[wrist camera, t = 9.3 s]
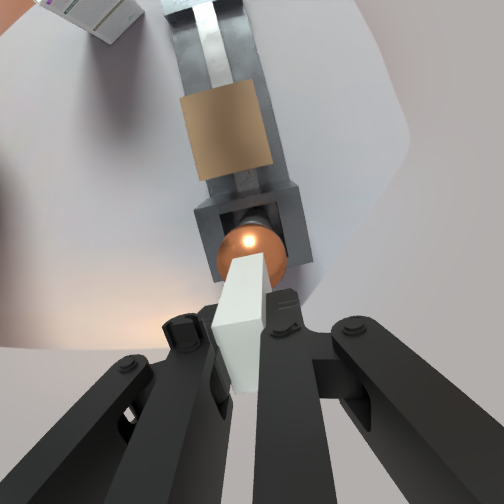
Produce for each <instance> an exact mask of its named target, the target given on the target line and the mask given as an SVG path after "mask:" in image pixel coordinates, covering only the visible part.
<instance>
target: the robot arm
mask: <svg viewBox="0 0 504 504" xmlns="http://www.w3.org/2000/svg"><path fill="white" fill-rule="evenodd" d="M162 329H163V331H164V334H165V336H166V339H167V341H168V344H169V346H170V348H171V350H170V352H169V354H168V356H167V358H166V360H164V361H160V362H157V363H154V364H149V362H148V360H147V358H146V357H145V356H144V355H139V354H138V355H129V356H125V357H123V358H122V359H120V360H119V361H118V362H116V363H115V364H114V365H113V366H111V367H110V368H109V370H108V371H107V372H106V373H105V374H104V375H103V376H102V377H101V378H100V379H99V380H98V381H97V382H96V383H95V384H94V385H93V386H92V387H91V388H90V389H89V390H88V391H87V392H86V393H85V394H84V395H83V396H82V397H81V398H80V399H79V400H78V401H77V402H76V403H75V404H74V405H73V406H72V407H71V408H70V409H69V410H68V412H67V413H65V415H64V416H63V417H62V418H61V419H60V420H59V421H58V422H57V423H56V424H55V425H54V426H53V427H52V428H51V429H50V430H49V431H48V432H47V433H46V434H45V435H44V436H43V437H42V439H40V441H39V442H38V443H37V444H36V445H35V446H34V447H33V448H32V449H31V450H30V451H29V452H28V453H27V454H26V455H25V456H24V457H23V458H22V460H21V461H20V462H19V463H18V464H17V465H16V466H15V467H14V468H13V469H12V470H11V471H10V472H9V473H8V474H7V476H6V477H5V478H4V479H3V480H2V481H1V482H0V504H221V497H222V488H223V481H224V473H225V465H226V457H227V449H228V442H229V434H230V426H231V418H232V410H233V401H232V398H231V396H230V393H229V391H230V384H231V385H232V388H233V391H234V393H235V394H243V393H249V392H257V391H258V402H257V403H258V404H257V426H256V445H255V466H254V485H253V502H252V504H337V498H336V492H335V486H334V479H333V473H332V468H331V461H330V455H329V449H328V443H327V437H326V432H325V426H324V421H323V415H322V410H321V404H320V399H319V398H327V399H339V401H340V404H341V405H342V407H343V408H344V410H345V411H346V413H347V414H348V416H349V417H350V419H351V420H352V422H353V423H354V424H355V426H356V427H357V429H358V430H359V432H360V433H361V435H362V436H363V438H364V439H365V440H366V442H367V443H368V445H369V446H370V448H371V449H372V451H373V452H374V454H375V455H376V456H377V458H378V459H379V461H380V462H381V464H382V465H383V466H384V468H385V469H386V471H387V472H388V474H389V475H390V477H391V478H392V479H393V481H394V482H395V484H396V485H397V487H398V488H399V489H400V491H401V492H402V494H403V495H404V497H405V498H406V499H407V501H408V502H409V504H504V427H503V426H502V425H501V424H500V423H499V422H497V421H496V420H495V419H494V418H493V417H492V416H490V415H489V414H488V413H487V412H486V411H485V410H483V409H482V408H481V407H480V406H479V405H478V404H476V403H475V402H474V401H473V400H471V399H470V398H469V397H468V396H467V395H466V394H465V393H463V392H462V391H461V390H460V389H459V388H457V387H456V386H455V385H454V384H453V383H451V382H450V381H449V380H448V379H447V378H445V377H444V376H443V375H442V374H441V373H439V372H438V371H437V370H436V369H434V368H433V367H432V366H431V365H429V364H428V363H427V362H426V361H425V360H423V359H422V358H421V357H420V356H419V355H417V354H416V353H415V352H414V351H413V350H411V349H410V348H409V347H408V346H406V345H405V344H404V343H402V342H401V341H400V340H399V339H398V338H397V337H395V336H394V335H393V334H392V333H390V332H389V331H388V330H387V329H385V328H384V327H383V326H382V325H380V324H379V323H378V322H376V321H375V320H373V319H372V318H370V317H365V316H351V317H348V318H344V319H342V320H340V321H338V322H337V323H336V324H335V325H334V326H333V327H332V329H331V333H318V332H313V331H311V330H309V329H307V328H306V327H305V325H304V322H303V317H302V313H301V308H300V303H299V299H298V294H297V292H296V291H294V290H293V289H291V288H290V289H285V290H280V291H275V292H272V289H271V285H270V280H269V276H268V272H267V267H266V263H265V259H264V255H263V253H258V254H253V255H249V256H244V257H239V258H234V259H232V263H231V266H230V269H229V272H228V275H227V278H226V281H225V284H224V288H223V291H222V294H221V297H220V300H219V303H218V304H213V305H208V306H205V307H203V308H202V309H201V310H200V311H199V312H198V314H196V313H188V314H183V315H179V316H177V317H174V318H172V319H170V320H169V321H167V322H166V323H165V324H164V325H163V326H162ZM128 407H129V409H130V410H131V412H132V413H133V415H134V417H135V418H134V420H133V421H132V422H129V421H128V420H127V418H126V417H125V415H124V412H125V410H126V409H127V408H128Z"/></svg>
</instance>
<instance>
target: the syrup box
mask: <svg viewBox="0 0 504 504" xmlns="http://www.w3.org/2000/svg"><path fill="white" fill-rule="evenodd" d="M33 1H35V2H36V3H37V4H38V5H39V6H41V7H43V8H45V9H47V10H49V11H51V12H53V13H55V14H57V15H59V16H61V17H62V18H64V19H66V20H68V21H70V22H71V23H73V24H75V25H77V26H78V27H80V28H82V29H84V30H86V31H87V32H89V33H91V34H92V35H94V36H96V37H98V38H99V39H101V40H103V41H104V42H106V43H108V44H109V45H111V44H112V43H113V42H114V41H115V40H116V39H117V38H118V37H119V36H121V35H122V34H123V32H124V31H125V30H126V29H127V28H128V27H129V26H130V25H131V24H132V23H133V22H134V21H135V20H136V19H138V18H139V17H140V16H141V15H142V14H143V13H144V10H143V9H142V8H141V7H140V5H139V4H138V3H137V2H136V1H135V0H33Z"/></svg>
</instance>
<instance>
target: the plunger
mask: <svg viewBox="0 0 504 504" xmlns="http://www.w3.org/2000/svg"><path fill="white" fill-rule="evenodd" d="M258 253H263V255H264V259H265V263H266V267H267V272H268V276H269V280H270V285H271V289H272V288H273V287H275V286H276V285H277V284H278V283H279V282H280V280H281V279H282V277H283V275H284V273H285V270H286V265H287V257H286V252H285V248H284V245H283V242H282V240H281V239H280V237H279V236H278V235H277V234H276V233H275V232H274V231H273V230H272V224H271V220H270V218H269V216H268V215H267V214H266V213H265V212H264V211H261V210H258V209H253V210H249V211H247V212H246V213H245V214H244V215H243V216H242V217H241V220H240V222H239V225H238V227H236V228H234V229H232V230H231V231H230V232H229V233H228V234H227V235H226V236H225V238H224V239H223V241H222V243H221V245H220V247H219V250H218V253H217V268H218V271H219V274H220V276H221V278H222V279H223V281H224V282H225V281H226V278H227V275H228V272H229V269H230V266H231V263H232V259H234V258H239V257H244V256H249V255H253V254H258Z"/></svg>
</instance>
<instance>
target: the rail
mask: <svg viewBox="0 0 504 504" xmlns="http://www.w3.org/2000/svg"><path fill="white" fill-rule="evenodd" d="M161 4H162V9H163V14H164V17H165V18H166V19H167V21H168V22H169V25H170V29H171V34H172V39H173V43H174V48H175V52H176V57H177V61H178V66H179V70H180V74H181V79H182V83H183V87H184V92H185V96H188V95H191V94H194V93H198V92H201V91H205V90H209V89H212V88H216V87H220V86H224V85H228V84H232V83H236V82H240V81H244V80H249V79H252V80H253V84H254V88H255V92H256V96H257V100H258V104H259V108H260V112H261V116H262V120H263V124H264V128H265V132H266V136H267V140H268V144H269V148H270V152H271V157H272V161H273V164H269V165H265V166H260V167H256V168H252V169H247V170H243V171H239V172H235V173H231V174H227V175H223V176H219V177H215V178H211V179H207V180H206V182H207V186H208V190H209V194H210V198H209V199H207V200H206V201H205V202H203V203H202V204H201V205H199V206H198V207H197V208H195V209H194V214H195V217H196V221H197V225H198V228H199V232H200V236H201V239H202V243H203V246H204V250H205V253H206V257H207V260H208V264H209V267H210V271H211V274H212V278H213V281H214V283H215V282H220V281H223V279H222V278H221V276H220V274H219V271H218V268H217V253H218V250H219V247H220V245H221V243H222V241H223V239H224V238H225V236H226V235H227V234H228V233H229V232H230V231H231V230H232V229H234V228H236V227H238V225H239V222H240V220H241V217H242V216H243V215H244V214H245V213H246V212H247V211H249V210H253V209H258V210H261V211H264V212H265V213H266V214H267V215H268V216H269V218H270V220H271V224H272V230H273V231H274V232H275V233H276V234H277V235H278V236H279V237H280V239H281V240H282V242H283V245H284V248H285V252H286V257H287V265H286V268H287V267H291V266H296V265H301V264H305V263H310V262H313V258H312V252H311V247H310V242H309V236H308V231H307V226H306V221H305V216H304V211H303V206H302V202H301V197H300V192H299V187H298V185H297V184H295V183H294V182H293V181H291V180H290V179H289V176H288V172H287V167H286V163H285V158H284V154H283V150H282V146H281V141H280V137H279V133H278V129H277V125H276V121H275V117H274V113H273V109H272V105H271V101H270V97H269V93H268V90H267V86H266V82H265V78H264V75H263V71H262V67H261V64H260V60H259V56H258V53H257V49H256V46H255V42H254V39H253V35H252V32H251V28H250V25H249V22H248V18H247V15H246V12H245V8H244V5H243V1H242V0H161Z"/></svg>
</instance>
